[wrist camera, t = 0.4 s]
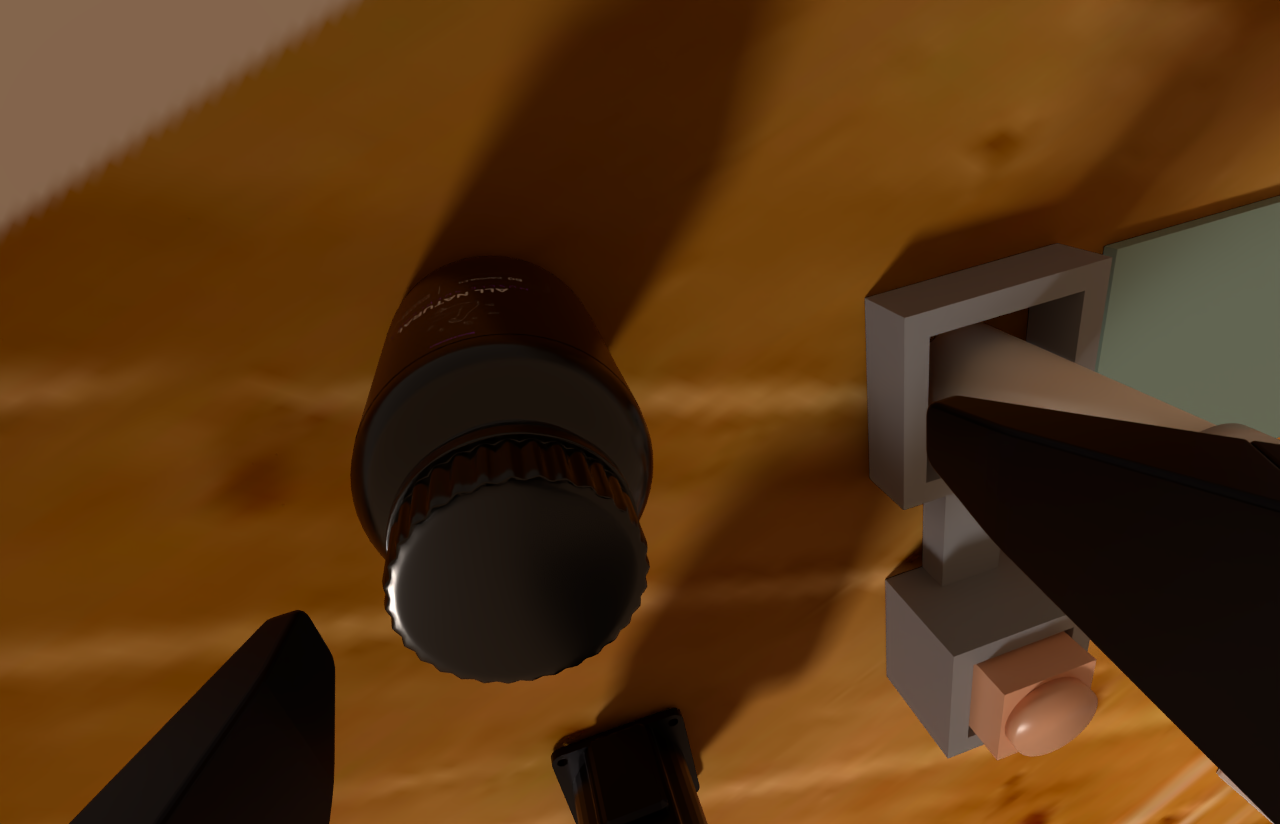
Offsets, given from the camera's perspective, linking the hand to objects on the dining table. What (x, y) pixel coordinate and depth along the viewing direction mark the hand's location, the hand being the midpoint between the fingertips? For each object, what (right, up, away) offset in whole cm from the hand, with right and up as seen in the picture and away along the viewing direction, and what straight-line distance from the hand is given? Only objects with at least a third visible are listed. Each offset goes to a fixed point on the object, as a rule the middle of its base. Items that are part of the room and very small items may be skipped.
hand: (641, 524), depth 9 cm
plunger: (+16, -9, +24) cm, 30 cm away
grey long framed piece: (+15, -2, +22) cm, 26 cm away
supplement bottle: (-5, +4, +13) cm, 15 cm away
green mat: (+26, +4, +21) cm, 34 cm away
